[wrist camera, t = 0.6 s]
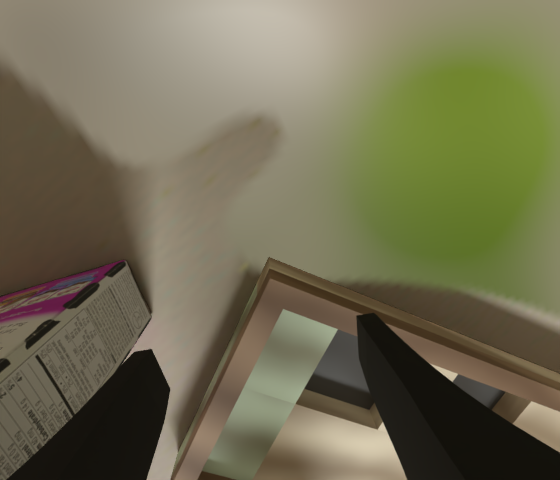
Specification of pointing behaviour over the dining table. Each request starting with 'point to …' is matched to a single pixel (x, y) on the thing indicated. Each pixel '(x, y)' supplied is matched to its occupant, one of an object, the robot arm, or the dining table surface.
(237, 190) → the dining table surface
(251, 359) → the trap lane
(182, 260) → the dining table surface
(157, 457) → the dining table surface
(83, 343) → the candy bar box
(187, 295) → the dining table surface
